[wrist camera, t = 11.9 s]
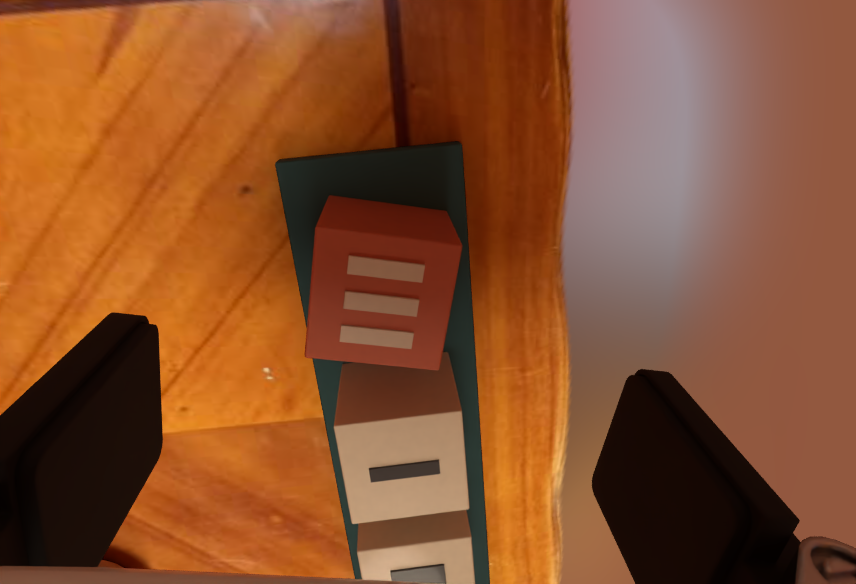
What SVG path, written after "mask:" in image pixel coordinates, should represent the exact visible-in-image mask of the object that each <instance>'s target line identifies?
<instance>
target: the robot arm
mask: <svg viewBox="0 0 856 584" xmlns="http://www.w3.org/2000/svg"><path fill="white" fill-rule="evenodd" d="M162 442H163V437H162V411H161V385H160V359H159V333H158V328H157V326H156V325H153V324H149V321H148V319H147V317H146V316H141V315H132V314H122V313H110V314H109V315H108V316H107V317H105V318H104V319H103V320H102V321H101V322H100V323H99V324H98V325H97V326H96V327H95V328H94V329H93V330H92V331H90V332H89V333H88V334H87V335H86V336H85V337H84V338H83V339H82V340H81V341H80V342H79V343H78V344H77V345H76V346H74V347H73V348H72V349H71V350H70V351H69V352H68V353H67V354H66V355H65V356H64V357H63V358H62V359H61V360H59V361H58V362H57V363H56V364H55V365H54V366H53V367H52V368H51V369H50V370H49V371H48V372H47V373H46V374H45V375H43V376H42V377H41V378H40V379H39V380H38V381H37V382H36V383H35V384H34V385H32V386H31V387H30V388H29V389H28V390H27V391H26V392H25V393H24V394H23V395H22V396H21V397H20V398H19V399H17V400H16V401H15V402H14V403H13V404H12V405H11V406H10V407H9V408H8V409H7V410H6V411H5V412H4V413H2V414H1V415H0V584H439V583H420V582H401V581H382V580H363V579H343V578H322V577H301V576H280V575H259V574H238V573H217V572H196V571H175V570H153V569H131V568H109V567H98V565H99V564H100V562H101V560H102V558H103V557H104V555H105V553H106V551H107V549H108V548H109V546H110V544H111V542H112V541H113V539H114V537H115V535H116V534H117V532H118V530H119V528H120V526H121V525H122V523H123V521H124V519H125V518H126V516H127V514H128V512H129V511H130V509H131V507H132V505H133V504H134V502H135V500H136V498H137V496H138V495H139V493H140V491H141V489H142V488H143V486H144V484H145V482H146V481H147V479H148V477H149V475H150V473H151V472H152V470H153V468H154V466H155V465H156V463H157V461H158V459H159V456H160V453H161V449H162ZM592 489H593V492H594V495H595V497H596V500H597V502H598V504H599V506H600V508H601V510H602V513H603V515H604V517H605V519H606V521H607V523H608V526H609V527H610V530H611V532H612V534H613V536H614V539H615V541H616V543H617V545H618V547H619V549H620V551H621V554H622V556H623V558H624V560H625V562H626V564H627V567H628V568H629V571H630V573H631V575H632V577H633V579H634V581H635V584H856V548H854V547H852V546H849V545H847V544H844V543H842V542H840V541H837V540H834V539H830V538H826V537H808V538H806V539H804V540H802V542H800V541H799V540H798V539H797V538H796V536H795V535H794V534H793V531H794V530H795V528H796V527H797V524H798V523H799V519H798V518H797V517H796V516H795V514H794V513H793V512H792V511H791V510H790V509H789V508H788V507H787V505H786V504H785V503H784V502H783V501H782V500H781V498H780V497H779V496H778V495H777V494H776V493H775V492H774V491H773V489H771V487H770V486H769V485H768V484H767V483H766V481H765V480H764V479H763V478H762V477H761V476H760V475H759V473H758V472H757V471H756V470H755V469H754V468H753V467H752V465H751V464H750V463H749V462H748V461H747V460H746V459H745V458H744V456H743V455H742V454H741V453H740V452H739V451H738V450H737V448H736V447H735V446H734V445H733V444H732V443H731V442H730V440H729V439H728V438H727V437H726V436H725V435H724V434H723V433H722V431H721V430H720V429H719V428H718V427H717V426H716V424H715V423H714V422H713V421H712V420H711V419H710V418H709V416H708V415H707V414H706V413H705V412H704V411H703V410H702V409H701V408H700V406H699V405H698V404H697V403H696V402H695V401H694V399H693V398H692V397H691V396H690V395H689V394H688V393H687V391H686V390H685V389H684V388H683V387H682V386H681V385H680V384H679V383H678V381H677V380H676V379H675V378H674V377H673V376H672V374H670V373H669V372H664V371H654V370H645V369H640V370H638V371H637V372H636V373H635V375H631V376H629V377H628V378H627V380H626V382H625V385H624V388H623V391H622V394H621V397H620V399H619V402H618V405H617V408H616V411H615V414H614V416H613V419H612V422H611V425H610V428H609V431H608V434H607V437H606V439H605V442H604V445H603V448H602V451H601V454H600V456H599V459H598V462H597V465H596V468H595V471H594V474H593V478H592Z"/></svg>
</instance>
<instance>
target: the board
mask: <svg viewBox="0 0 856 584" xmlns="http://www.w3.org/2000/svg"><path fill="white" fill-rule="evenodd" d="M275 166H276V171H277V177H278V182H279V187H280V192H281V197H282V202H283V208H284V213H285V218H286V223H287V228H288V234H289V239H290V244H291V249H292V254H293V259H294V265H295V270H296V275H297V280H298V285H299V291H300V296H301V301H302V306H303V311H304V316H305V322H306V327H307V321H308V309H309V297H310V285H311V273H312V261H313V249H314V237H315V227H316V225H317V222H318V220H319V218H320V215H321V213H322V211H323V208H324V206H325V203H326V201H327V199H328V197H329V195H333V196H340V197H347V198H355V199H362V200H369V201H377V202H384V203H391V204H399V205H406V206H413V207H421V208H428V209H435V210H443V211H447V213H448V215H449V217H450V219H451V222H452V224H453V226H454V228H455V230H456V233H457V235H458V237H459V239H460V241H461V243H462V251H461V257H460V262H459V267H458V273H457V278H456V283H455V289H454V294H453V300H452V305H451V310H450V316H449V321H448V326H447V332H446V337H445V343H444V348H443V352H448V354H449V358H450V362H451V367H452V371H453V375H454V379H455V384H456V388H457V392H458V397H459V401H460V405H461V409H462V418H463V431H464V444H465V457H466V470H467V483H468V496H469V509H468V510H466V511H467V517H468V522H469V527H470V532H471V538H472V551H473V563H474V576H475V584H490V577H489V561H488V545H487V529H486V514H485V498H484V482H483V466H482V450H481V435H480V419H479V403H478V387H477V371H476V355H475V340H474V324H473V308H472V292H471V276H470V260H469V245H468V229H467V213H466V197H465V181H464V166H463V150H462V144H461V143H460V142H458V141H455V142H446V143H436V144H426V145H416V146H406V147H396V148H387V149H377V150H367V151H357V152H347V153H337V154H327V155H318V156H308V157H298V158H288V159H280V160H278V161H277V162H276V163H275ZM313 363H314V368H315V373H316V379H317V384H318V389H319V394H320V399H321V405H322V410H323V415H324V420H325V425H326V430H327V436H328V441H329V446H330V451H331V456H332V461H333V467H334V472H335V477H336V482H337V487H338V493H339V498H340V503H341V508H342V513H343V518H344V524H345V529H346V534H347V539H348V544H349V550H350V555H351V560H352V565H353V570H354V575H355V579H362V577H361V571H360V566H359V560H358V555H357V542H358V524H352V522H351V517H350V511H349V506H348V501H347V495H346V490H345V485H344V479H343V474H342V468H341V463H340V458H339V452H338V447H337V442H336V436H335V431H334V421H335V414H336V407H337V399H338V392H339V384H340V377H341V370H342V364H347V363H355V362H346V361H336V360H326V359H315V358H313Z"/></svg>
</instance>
